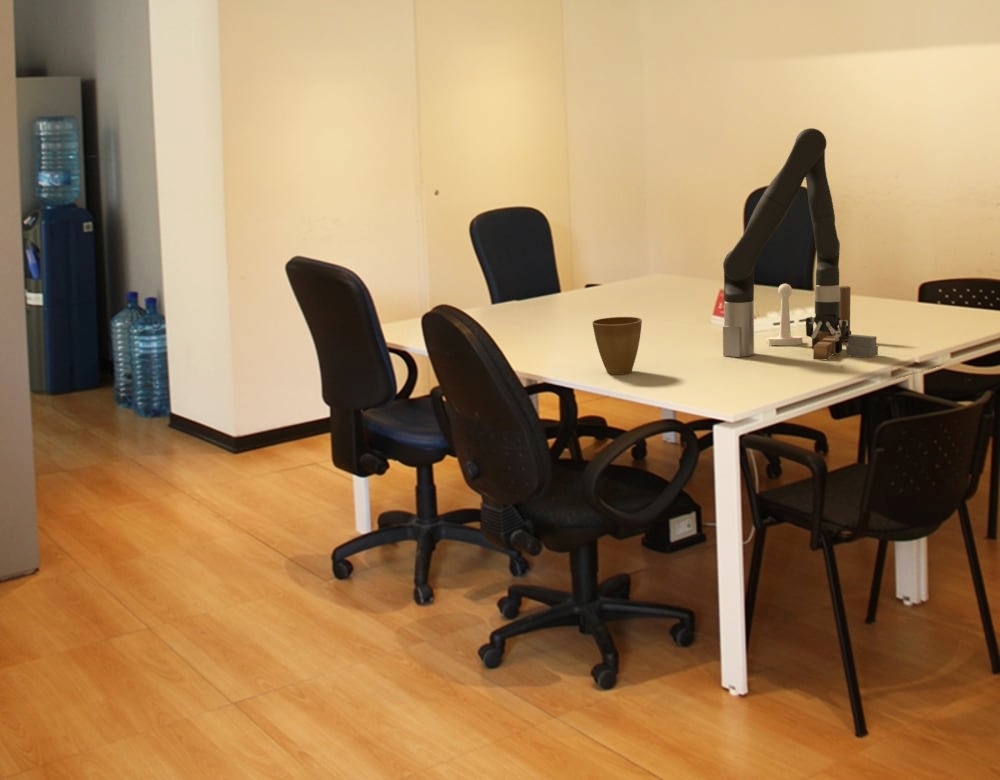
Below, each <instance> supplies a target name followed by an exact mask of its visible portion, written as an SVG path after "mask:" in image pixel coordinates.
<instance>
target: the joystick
mask: <svg viewBox="0 0 1000 780" xmlns="http://www.w3.org/2000/svg"><path fill="white" fill-rule="evenodd" d="M777 293H778V295H779V296H780V298H781V299H780V302H781V303H780V319H779V334H777V335H775V337H774V336H773V337H770V336H769V337H766V344H767V346H768V345H789V346H797V345H796V344H800V345H803V336H801V335H793V336H792V333H791V316H790V315H791V314H790V296H791V294H792V293H793V288H792V286H791V285H790V284H788V283H782V284H780V285H779V287H778V289H777Z"/></svg>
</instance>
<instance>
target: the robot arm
mask: <svg viewBox="0 0 1000 780" xmlns="http://www.w3.org/2000/svg"><path fill="white" fill-rule="evenodd" d="M826 148H827V139H826V136H825V135H824V133H823V132H822V131H821V130H820V129H818V128H812V127H811V128H810V127H809V128H805V129H804V130H802V131H800V132H799V134H798V135H796V139H795V141H794V144H793V146H792V149H791V151H790V152H789V155H788V157H787V159H786V161H785V163H784V165H783V166H782V168H781V169H780V170H779V171H778V172H777V174H776V175H775V177H774V178H773V179H772V180H771V182H770V183H769V185H768V186H767V187H766V189H765V190H764V192H763V194H762V195H761V197H760V199H759V201H758V202H757V204H756V206H755V208H753V209H754V210H753V212H752V214H751V216H750V218H749V220H748V223H747V225H746V228H745V230H744V232H743V234H742V236H741V237H740V238H739V240H738V242H737V243H736V244H735V246H734V247H733V248H732V250H731V251H729V252H728V253H727V254H726V255H725V257H724V259H723V260H724V261H723V263H722V265H723V266H722V267H723V268H722V269H723V320H724V321H723V326H722V355H723V357H733V358H742V357H751V356H753V355H755V310H754V309H755V265H756V263H757V260H758V258H759V256H760V255H761V252H762V250H763V248H764V247H765V245H766V244H767V242H768V241H769V240H770V239H771V237H772V236H773V234H774V233H775V232H776V230H777V229H778V228H779V226H780V225H781V223H782V222H783V220H784V219H785V217H786V216H787V214H788V212H789V210H790V209H791V207H792V205H793V203H794V201H795V200H796V198H797V196H798V193H799V191H800V189H801V187H802V184H803V182H804V180H805V182H806V183H805V184H806V190H807V199H808V200H807V201H808V209H809V214H810V218H811V220H810V221H811V223H812V227H813V238H814V239H813V240H814V246H815V250H816V270H815V290H814V314H815V315H814V316H809V317H806V318H805V333H806V334H805V335H806V337H809V338H810V339H811V348H812V350H813V346H814V345H815V344H817V343H818V342H819V338H818V337H819V335H820V333H821V332H824V331H826V332H831V334H832V335H833V336H834V337H835V339H836V342H835V354H840V353H841V352H842V350H843V342H842V341H843V340H845V339H848V337H849V320H840V318H839V314H840V288H839V287H840V267H839V263H840V250H841V249H840V248H841V246H840V240H839V238H838V234H837V229H836V215H835V210H834V203H833V198H832V194H831V189H830V185H829V181H828V178H827V177H828V176H827V171H826ZM814 324H816V325H817V326H815V328H814ZM839 324H840V326H841V327H842V328H841V331H840V329H839Z"/></svg>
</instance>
